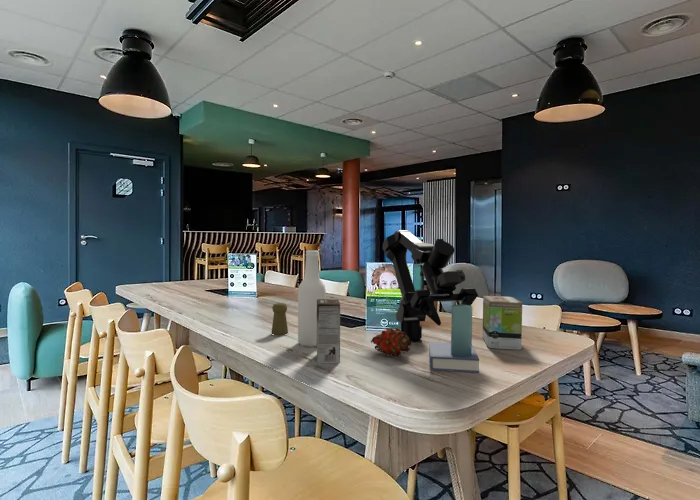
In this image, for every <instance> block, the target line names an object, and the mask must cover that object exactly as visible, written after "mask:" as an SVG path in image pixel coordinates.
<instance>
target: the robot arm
mask: <svg viewBox="0 0 700 500" xmlns="http://www.w3.org/2000/svg"><path fill="white" fill-rule="evenodd" d="M382 250H383V252H384V255H385V257H386V258H387V259H388V260H389V261H390V262H391V264H392V265H393V269H394V272H395V276H396V277H395V278H396V280H397V283H398V287H399V292H400V294H401V298H400V300H399V303H398V305H399V307H398V308H397V311H396V313H395V317H396V321H397V322H399V323H400V330H401V331H402V332H405V333H406V335H407V336H408V337H409V339H410V341H411V342H421V339H423V336H422V335H423V334H422V333H423V327H422V326H423V325H422V324H421V322H426V316H427V317H428V318H429V319H430V320H431V321H433V322H434V323H435V324H436V325H437V326H441V325H442V322H441V319H440V315H439V313H438V311H437V308H436V306H435V302H438V303H443V302H444V303H445V302H456V305H469V306H473V303H474V301H475V300H477V297H478V296H479V293H478V291H477V289H476V288H473V287H463V288H461V289H460V291H459V293H454V292H455V291H456V290H457V287H456V286H457V285H458V284H459V285H460V284H461V283H463V282H464V281H466V275H465V272H464V271H463V270H462V269H457V270H455V271H454V270H453V271H448V270H447V271H444V270H443V269H444V268H446V267H447V266H448V265H449V262H450V261H451V260H452V257H453V255H454V254H455V247H454V246H453V245H452V244H451V243H449V242H447V241H445V240H444V238H436V240H435V242H434V244H432V243H429V242H424V241H422V240H420V239H419V238H418V237H417V236H415V235H414V234H412V232H411V231H410V230H408V229H407V230H404V229H399V230H395V232H394V233H393V234H391V235H389V236H387V237H386V238H385V239H384V240H383V242H382ZM408 251H409V252H410V253H411V256H410V257H411V259H412V260H413V262H414V263H415V264H422V267H421V269H420V272H419V276H420V277H424V279H425V281H426V288H425V289H416V288H415V286H414V282H413V278H412V276H411V273H410V272H411V271H410V269H409V265H408V263H407V259H406V254H407V252H408Z"/></svg>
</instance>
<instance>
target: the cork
mask: <svg viewBox="0 0 700 500" xmlns="http://www.w3.org/2000/svg"><path fill="white" fill-rule="evenodd" d="M271 309H272V312H273V318H272V326H271V333H272V334H274V335H284V334H287V333H288V334H289V330H288V329H289V328H288V321H287V311H288V305H287V304H286V303H284V302H276V303H274V304H273V305H272V308H271Z"/></svg>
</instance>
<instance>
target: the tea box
mask: <svg viewBox="0 0 700 500" xmlns="http://www.w3.org/2000/svg"><path fill="white" fill-rule="evenodd" d="M522 327H523V302H522V301H520V300H518V299H517V298H515V297H513V296H501V295H500V296H499V295H495V296H494V295H483V300H482V339H483V340H484V341H485V343H486V344H485V345H486V346H487V347H488V349H496V350H497V349H500V350H522V341H523V340H522V338H523V337H522V335H523V334H522V333H523V332H522V330H523V328H522Z"/></svg>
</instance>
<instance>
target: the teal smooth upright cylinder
mask: <svg viewBox="0 0 700 500" xmlns="http://www.w3.org/2000/svg"><path fill="white" fill-rule="evenodd" d="M450 322H451V327H450V328H451V330H450V331H451V332H450V334H451V335H450V342H451V354H452V355H455V356H462V357H467V356H471V355H472V345H473V343H472V341H473V305H471V306H469V305H457V304H452V305H451V321H450Z"/></svg>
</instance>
